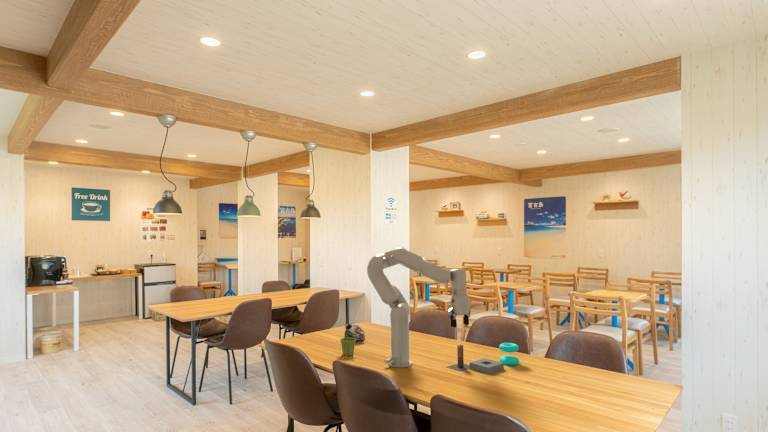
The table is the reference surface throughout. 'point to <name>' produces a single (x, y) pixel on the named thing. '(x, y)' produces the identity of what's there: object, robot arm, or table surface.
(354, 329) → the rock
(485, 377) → the table surface
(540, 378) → the table surface
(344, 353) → the plant pot
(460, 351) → the dowel
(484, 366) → the socket block
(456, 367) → the mat
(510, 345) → the donuts
